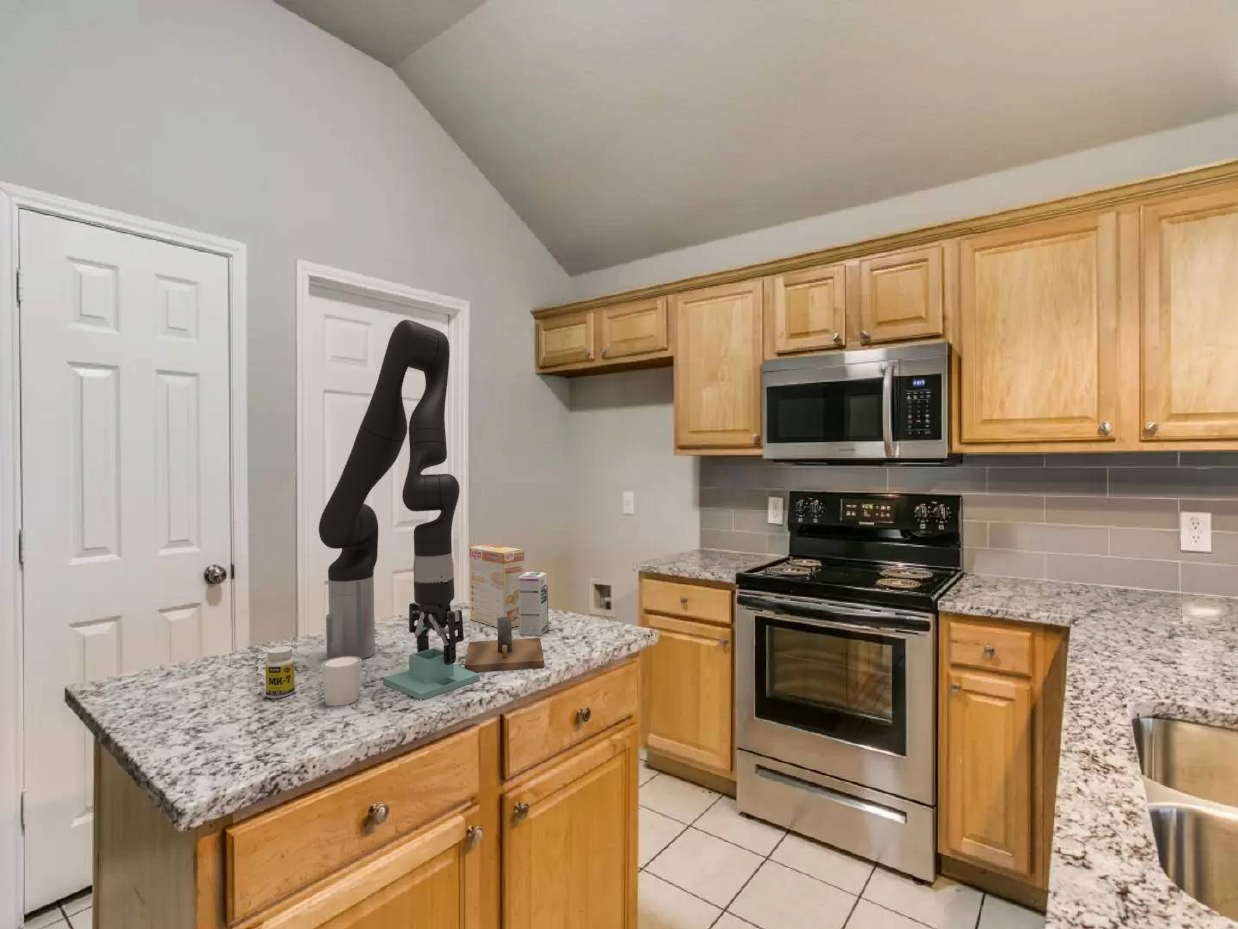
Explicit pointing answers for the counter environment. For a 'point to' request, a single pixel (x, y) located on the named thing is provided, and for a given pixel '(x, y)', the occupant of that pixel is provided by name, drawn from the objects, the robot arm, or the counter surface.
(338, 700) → the white short cylinder
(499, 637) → the post block
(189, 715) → the counter surface
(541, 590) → the syrup box
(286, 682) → the supplement bottle
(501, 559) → the coffeecake box
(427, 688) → the flange plate
